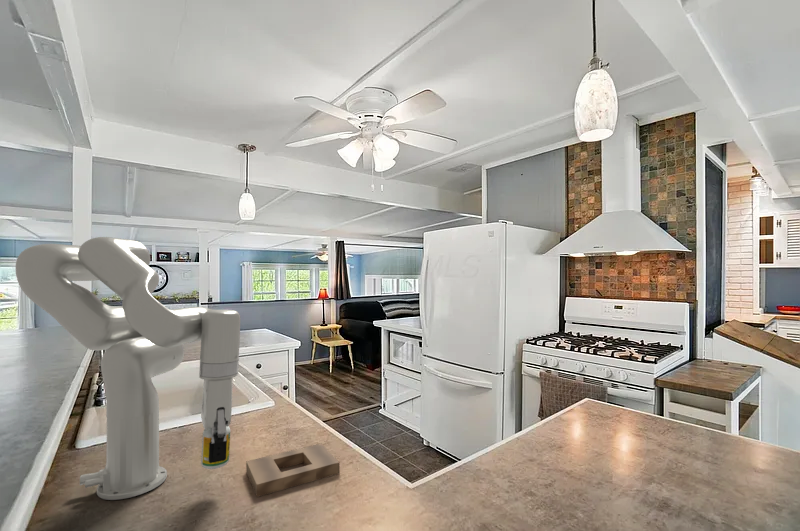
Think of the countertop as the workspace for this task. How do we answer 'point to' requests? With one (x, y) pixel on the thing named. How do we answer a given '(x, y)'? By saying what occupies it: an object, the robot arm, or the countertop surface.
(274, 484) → the frame
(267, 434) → the countertop surface
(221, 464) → the supplement bottle
